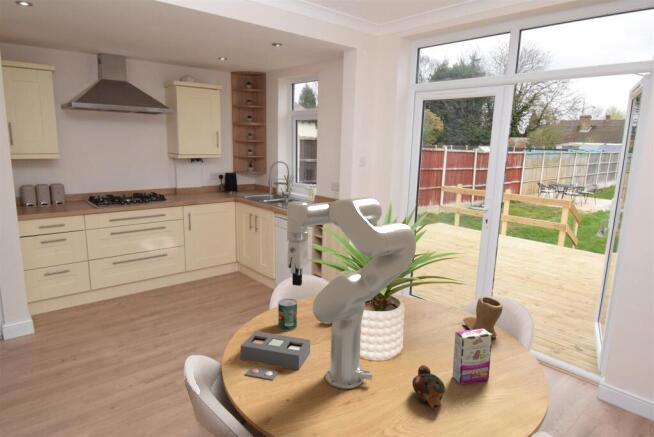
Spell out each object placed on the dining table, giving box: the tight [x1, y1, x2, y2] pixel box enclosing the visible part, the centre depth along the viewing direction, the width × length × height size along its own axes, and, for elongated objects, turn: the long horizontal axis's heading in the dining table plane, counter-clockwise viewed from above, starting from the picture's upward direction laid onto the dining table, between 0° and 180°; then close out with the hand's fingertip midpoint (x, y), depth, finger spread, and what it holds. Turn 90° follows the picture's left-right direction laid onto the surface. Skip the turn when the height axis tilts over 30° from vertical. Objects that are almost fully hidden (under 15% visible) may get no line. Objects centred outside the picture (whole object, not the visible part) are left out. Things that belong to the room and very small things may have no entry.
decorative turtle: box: [411, 364, 446, 410], centre depth 124 cm, size 10×15×8 cm, turn 8°
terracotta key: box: [253, 340, 264, 344], centre depth 149 cm, size 4×4×2 cm
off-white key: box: [288, 345, 301, 350], centre depth 145 cm, size 4×4×2 cm
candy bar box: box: [452, 328, 493, 385], centre depth 134 cm, size 11×5×16 cm, turn 105°
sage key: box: [268, 339, 284, 347], centre depth 147 cm, size 4×4×2 cm
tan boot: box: [463, 296, 503, 339], centre depth 169 cm, size 15×12×15 cm
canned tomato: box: [277, 298, 298, 332], centre depth 170 cm, size 8×8×11 cm
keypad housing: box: [240, 330, 311, 371], centre depth 147 cm, size 22×12×5 cm, turn 74°
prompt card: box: [244, 366, 280, 381], centre depth 136 cm, size 10×5×1 cm, turn 74°
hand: (297, 284), depth 149 cm, fingers closed
